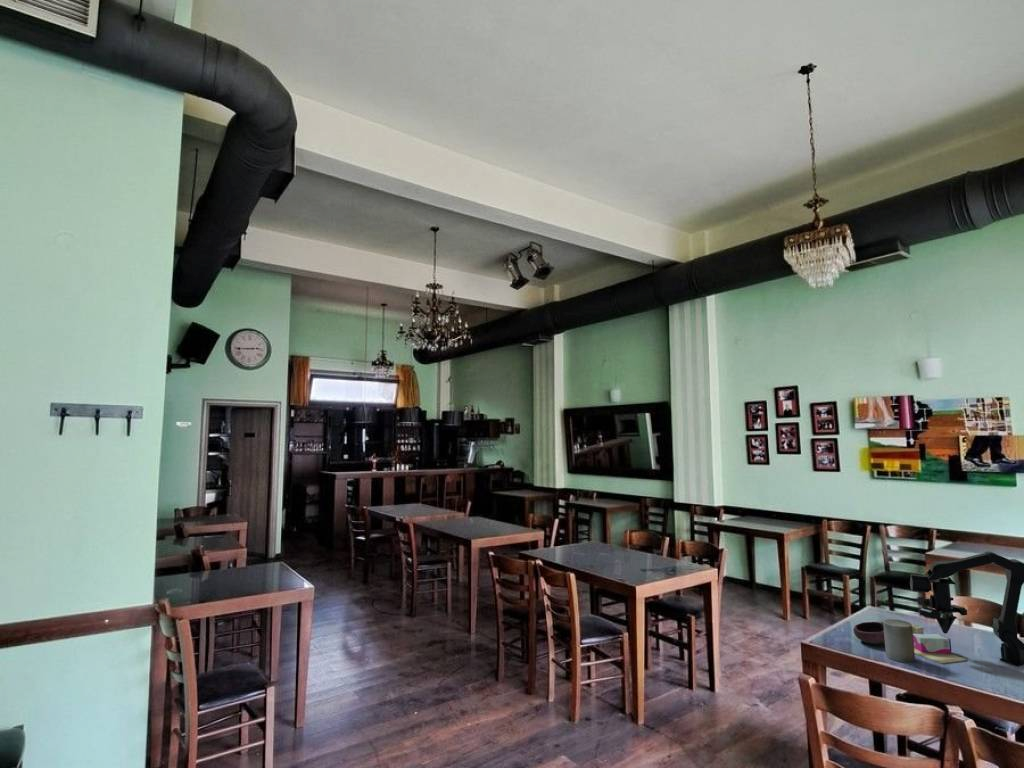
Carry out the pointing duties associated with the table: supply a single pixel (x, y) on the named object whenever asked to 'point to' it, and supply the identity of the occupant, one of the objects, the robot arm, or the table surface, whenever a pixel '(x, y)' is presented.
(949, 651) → the supplement box
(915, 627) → the beech block
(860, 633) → the bowl
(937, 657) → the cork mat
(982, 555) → the robot arm
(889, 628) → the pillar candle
